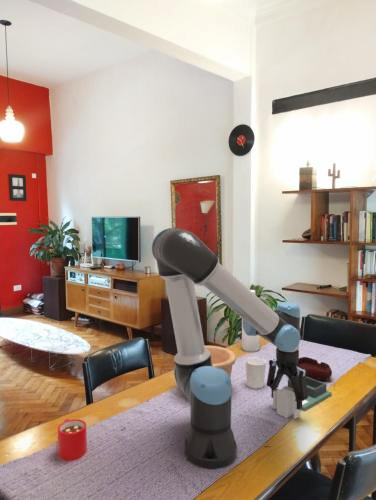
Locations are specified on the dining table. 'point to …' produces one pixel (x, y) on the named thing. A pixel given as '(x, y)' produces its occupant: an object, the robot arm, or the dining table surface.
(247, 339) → the alcohol
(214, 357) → the pottery
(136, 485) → the dining table surface
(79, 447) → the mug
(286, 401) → the plug
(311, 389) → the board
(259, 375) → the white cup
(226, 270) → the robot arm
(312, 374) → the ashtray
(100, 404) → the dining table surface
